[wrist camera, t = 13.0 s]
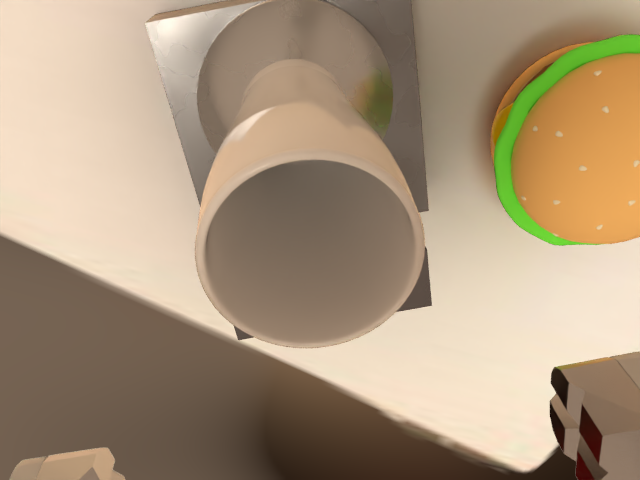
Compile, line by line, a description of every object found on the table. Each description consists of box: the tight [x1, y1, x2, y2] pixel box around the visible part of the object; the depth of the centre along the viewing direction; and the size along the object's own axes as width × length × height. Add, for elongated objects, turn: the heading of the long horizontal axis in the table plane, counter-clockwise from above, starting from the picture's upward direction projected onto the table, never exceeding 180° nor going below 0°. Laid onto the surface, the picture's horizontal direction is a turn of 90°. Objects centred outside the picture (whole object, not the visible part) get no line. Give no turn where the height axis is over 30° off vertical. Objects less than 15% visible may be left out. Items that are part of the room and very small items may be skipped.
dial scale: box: [145, 0, 432, 340], centre depth 28 cm, size 13×13×12 cm
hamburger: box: [490, 34, 640, 246], centre depth 31 cm, size 12×12×9 cm
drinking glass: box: [195, 59, 425, 348], centre depth 23 cm, size 7×7×15 cm
